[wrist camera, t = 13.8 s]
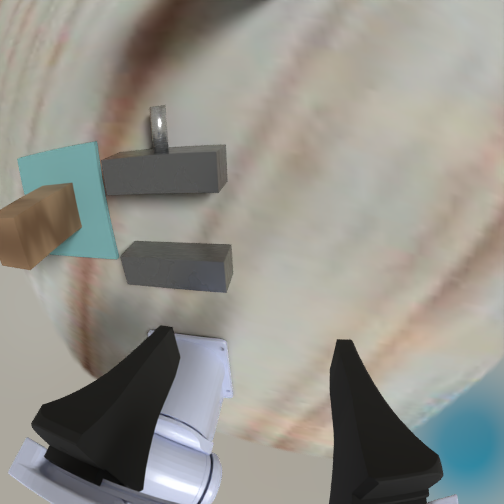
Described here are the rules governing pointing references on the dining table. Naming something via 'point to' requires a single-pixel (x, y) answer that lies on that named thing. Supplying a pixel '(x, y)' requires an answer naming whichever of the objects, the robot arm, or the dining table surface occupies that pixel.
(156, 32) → the dining table surface
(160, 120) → the metal vise
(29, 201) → the walnut peg
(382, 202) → the dining table surface
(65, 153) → the teal mat
